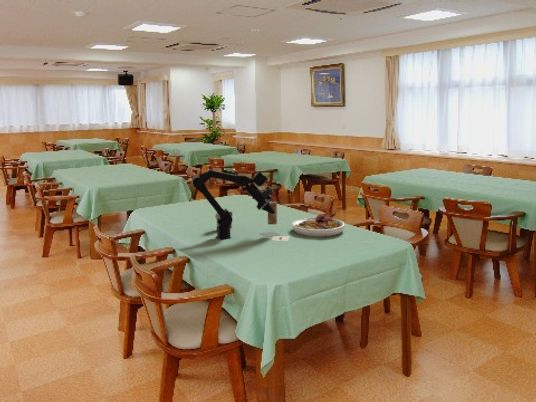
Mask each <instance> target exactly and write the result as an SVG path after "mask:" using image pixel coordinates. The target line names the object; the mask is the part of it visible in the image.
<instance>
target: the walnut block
mask: <svg viewBox="0 0 536 402" xmlns="http://www.w3.org/2000/svg"><path fill="white" fill-rule="evenodd" d="M269 205H270V207H271V208H272V209H273V211H274V212H275V213H274V214H272V213H269V212H267V225H277V224H278V201H271V202H269Z"/></svg>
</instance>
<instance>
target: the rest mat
mask: <svg viewBox="0 0 536 402" xmlns="http://www.w3.org/2000/svg"><path fill="white" fill-rule="evenodd" d="M259 234H260V235H262V236H264V237H267V238H270V237H273V236H281V235H282V234H281V233H279V232H276V231H267V232H260V233H259Z"/></svg>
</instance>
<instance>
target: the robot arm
mask: <svg viewBox="0 0 536 402" xmlns="http://www.w3.org/2000/svg"><path fill="white" fill-rule="evenodd" d="M212 178H213V179H219V180H222V181H228V182H231V183H234V184H236V185H239V186H242V188H241V189H242V193H245V192H246V193H247V194H248V195H249V196H250V197H252V198H251V199H252V200H255V202H256V203H257V204H256V208H257V210H258V211H260V210H261V211H264V212H267V213H268V212H269V213H272V214H274V213H275V212H274V211H273V209H272V208H271V207H270V205H269V202H272V195H273V194H274V193H275V191H274V188H273V187H271V186H266V188H265V189H264V190H262V189H259V188H258V187H262V186H263V185H264V184H265V183H266V182H267V181H268V178H267V176H266V175H264V174H263V173H262V172H261V171H258V172H257V173H256V174H255V175H254V176H253V177H250V176H249V177H248V176H246V175H244V174H231V173H228V172H222V171H217V170H213V169H210V168H209V169H208V170H206V171H205V172H203V173H200V174H199V175H194V176H193V177H192V178H191V181H190V183H191V184H192V186H193V187H194V188H195V189H196V190H197V191H199V192H200V194H202V195H203V197H205V200H207V202H208V203H209V204H210V205H211V207H212V208H213V209H214V210H215V212H216V213H217V214H218V216H219V218H220V219H219V220H218V221H217V220H216V226H217V225H218V226H219V227H216V236H215V238H217V239H219V240H226V239H231V238H232V237H231V229H229V226H230V224H231V223H232V224H233V215H231V214H230V213H229V212H230V211H229V210H228V209H227V208H222V206H221V205H220V204H219V202H218V201H217V199H216V198H215V197H214V196H213V194H211V192H210V191H209V190H208V188H207V185H206V184H205V183H207V182H208V181H209V180H211V179H212ZM231 216H232V217H231Z"/></svg>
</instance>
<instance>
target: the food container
mask: <svg viewBox="0 0 536 402" xmlns="http://www.w3.org/2000/svg"><path fill="white" fill-rule="evenodd" d="M229 213H230V214H231V215H232V216H231V217H232V218H233V215H234V214H233V211H229ZM214 216H215V219H216V222H217V221H218V220H219V219H220V218H219V216H218V214H217V212H216V213H215V215H214ZM232 224H233V222H232V223H231V224H230V226H229V229H230V230H231V229H232V226H233V225H232ZM216 226H217V227H219V226H218V225H217V224H216ZM217 227H216V228H217Z"/></svg>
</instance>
